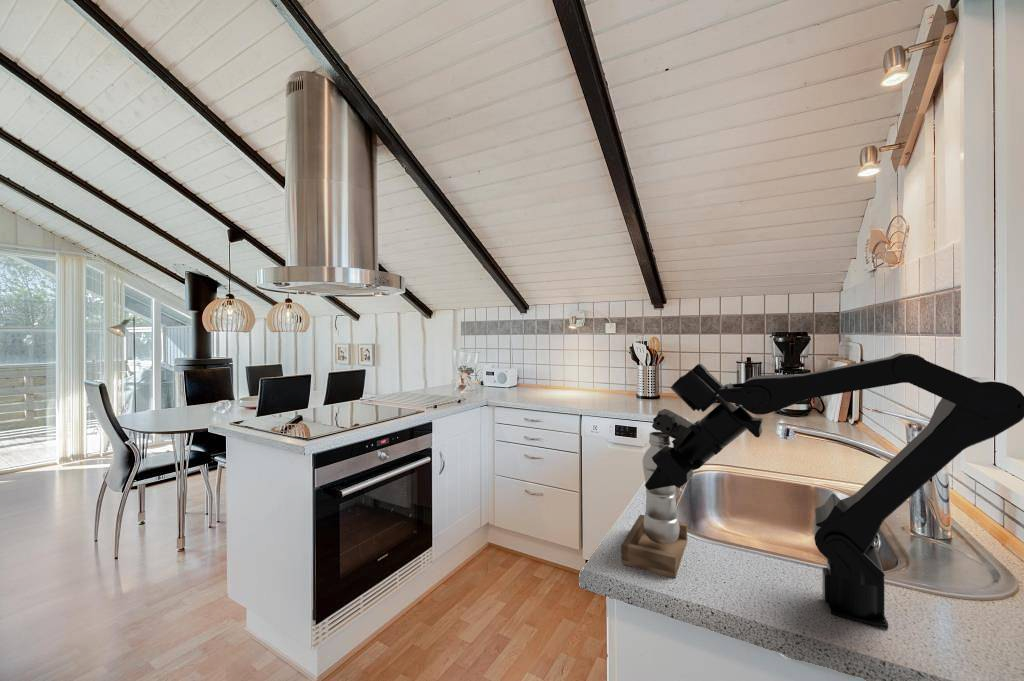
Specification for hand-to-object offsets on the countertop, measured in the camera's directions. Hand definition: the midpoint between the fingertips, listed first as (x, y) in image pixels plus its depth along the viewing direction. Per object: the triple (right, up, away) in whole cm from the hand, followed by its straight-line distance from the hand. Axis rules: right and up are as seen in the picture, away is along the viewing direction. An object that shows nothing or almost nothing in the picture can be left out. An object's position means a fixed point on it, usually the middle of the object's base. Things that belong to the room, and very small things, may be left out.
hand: (653, 482), depth 80 cm
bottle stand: (0, -13, 0) cm, 13 cm away
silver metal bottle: (+1, -11, -1) cm, 11 cm away
